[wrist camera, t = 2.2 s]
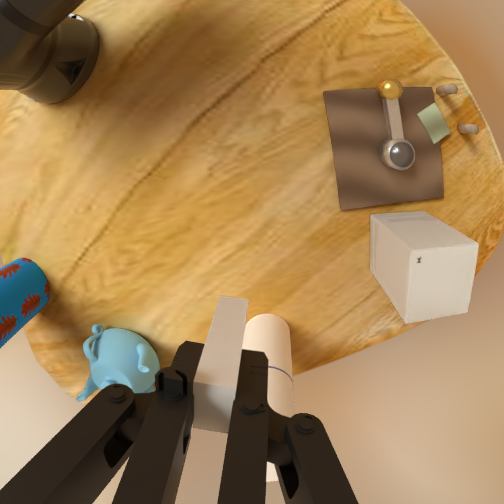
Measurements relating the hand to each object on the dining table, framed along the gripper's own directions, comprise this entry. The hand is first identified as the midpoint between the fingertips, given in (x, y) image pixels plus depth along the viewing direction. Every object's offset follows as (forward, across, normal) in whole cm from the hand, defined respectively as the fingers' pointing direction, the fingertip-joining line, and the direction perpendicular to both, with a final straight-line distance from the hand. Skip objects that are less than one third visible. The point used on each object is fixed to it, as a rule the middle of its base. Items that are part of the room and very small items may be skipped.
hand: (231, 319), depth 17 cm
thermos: (+29, -41, -19) cm, 54 cm away
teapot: (+29, -19, -30) cm, 46 cm away
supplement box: (+29, +21, -2) cm, 36 cm away
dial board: (+29, +19, +12) cm, 36 cm away
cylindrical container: (+29, +4, -20) cm, 35 cm away
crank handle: (+27, +16, +14) cm, 34 cm away
